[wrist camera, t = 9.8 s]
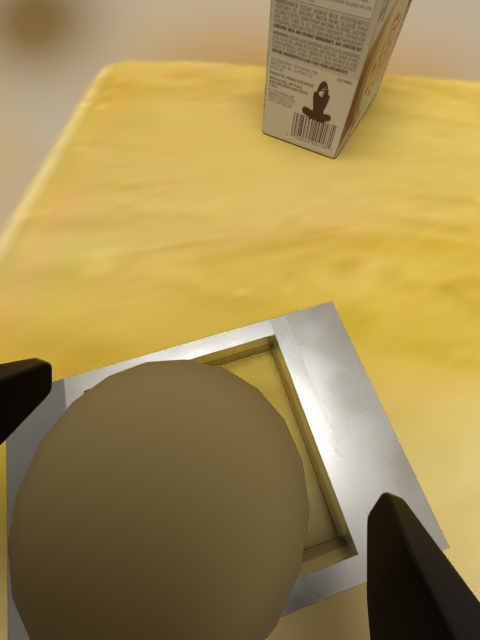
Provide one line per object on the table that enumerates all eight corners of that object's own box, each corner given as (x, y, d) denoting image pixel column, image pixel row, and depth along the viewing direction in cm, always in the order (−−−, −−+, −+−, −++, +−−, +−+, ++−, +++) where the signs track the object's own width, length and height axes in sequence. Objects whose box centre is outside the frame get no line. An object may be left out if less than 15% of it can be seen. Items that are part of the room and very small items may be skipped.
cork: (258, 389, 16) (289, 285, 6) (291, 523, 14) (445, 748, 3) (142, 416, 15) (-52, 355, 5) (156, 560, 13) (-142, 959, 3)
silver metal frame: (52, 675, 12) (8, 728, 9) (39, 403, 16) (5, 395, 13) (415, 530, 13) (449, 547, 11) (320, 320, 17) (331, 301, 15)
